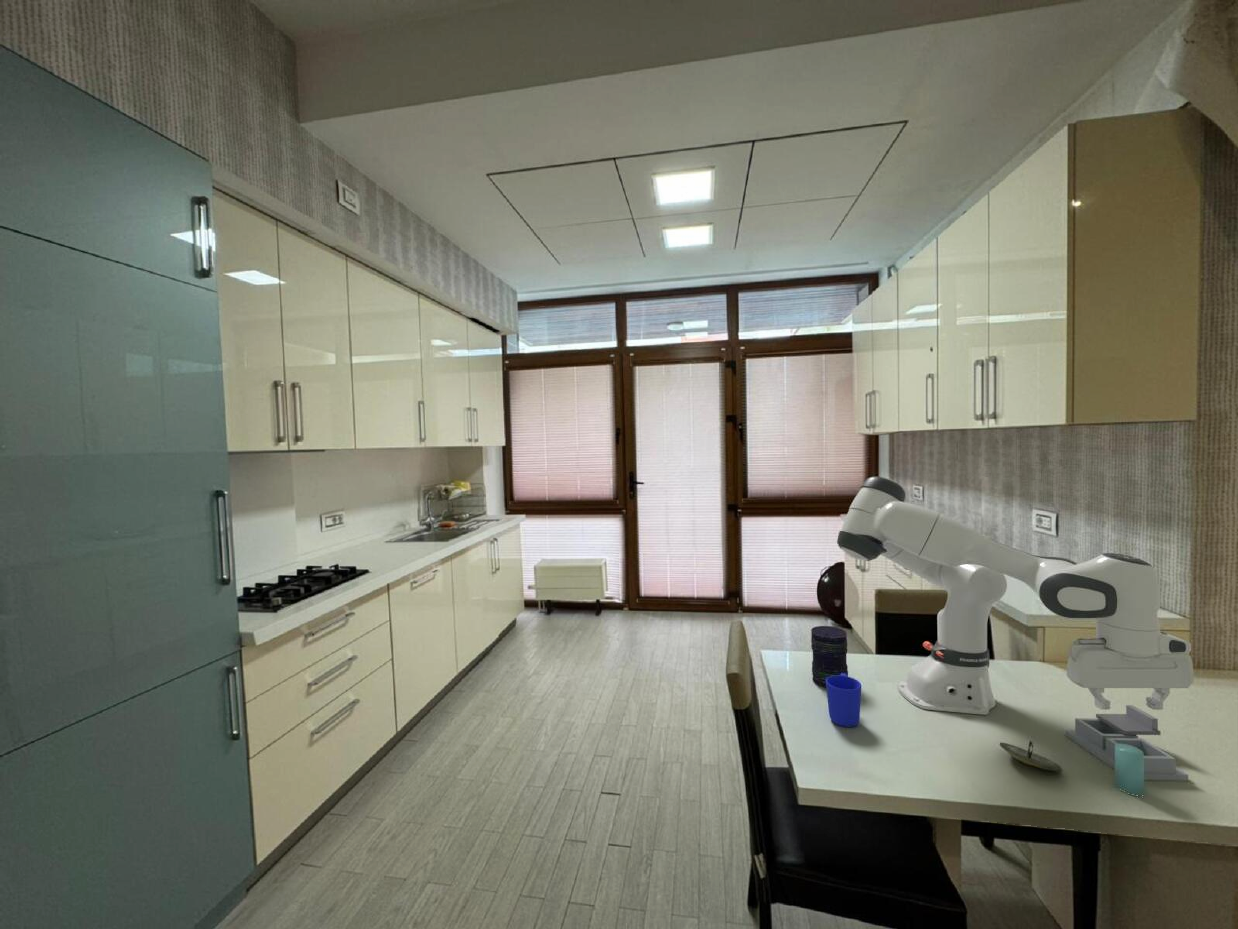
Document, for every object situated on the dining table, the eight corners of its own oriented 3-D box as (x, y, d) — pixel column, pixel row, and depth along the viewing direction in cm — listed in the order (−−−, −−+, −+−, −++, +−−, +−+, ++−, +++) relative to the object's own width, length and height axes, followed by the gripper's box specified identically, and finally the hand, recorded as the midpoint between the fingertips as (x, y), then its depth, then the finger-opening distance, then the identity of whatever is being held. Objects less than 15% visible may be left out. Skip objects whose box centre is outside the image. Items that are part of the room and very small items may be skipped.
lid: (989, 759, 110) (988, 736, 110) (1015, 747, 114) (1015, 725, 114) (1046, 788, 100) (1046, 763, 100) (1073, 773, 104) (1073, 749, 104)
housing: (1188, 780, 101) (1188, 760, 101) (1129, 779, 102) (1128, 759, 102) (1116, 735, 117) (1115, 717, 117) (1065, 735, 118) (1065, 717, 117)
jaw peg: (1127, 796, 97) (1127, 755, 97) (1109, 782, 101) (1108, 743, 101) (1150, 796, 97) (1149, 755, 96) (1130, 783, 101) (1130, 743, 100)
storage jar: (817, 671, 155) (815, 623, 155) (851, 679, 149) (850, 629, 149) (808, 684, 147) (806, 633, 147) (844, 693, 141) (842, 640, 141)
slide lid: (1160, 735, 109) (1160, 720, 109) (1124, 734, 109) (1124, 720, 109) (1129, 717, 116) (1129, 703, 116) (1095, 717, 117) (1095, 703, 116)
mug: (861, 709, 132) (860, 671, 132) (862, 733, 121) (861, 692, 121) (827, 703, 136) (827, 667, 135) (825, 726, 125) (824, 686, 124)
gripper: (1083, 644, 96) (1084, 716, 96) (1201, 644, 94) (1201, 717, 94) (1057, 632, 102) (1058, 700, 102) (1167, 632, 100) (1168, 700, 101)
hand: (1128, 708), depth 98 cm, fingers open, 8 cm apart
